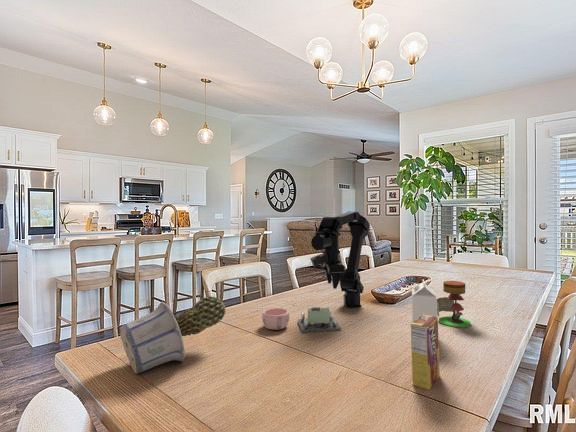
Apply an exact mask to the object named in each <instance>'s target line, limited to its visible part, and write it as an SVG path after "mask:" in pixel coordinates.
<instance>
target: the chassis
mask: <svg viewBox="0 0 576 432" xmlns="http://www.w3.org/2000/svg"><path fill="white" fill-rule="evenodd" d="M329 311H330V323H308V318H306V313H305V311H303V312H300V318H299V319H297V323H298V325H299V328H300V331H301V333H317V332H332V331H333V332H334V331H342V327H341V326H340V325H339V323H338V322H337V317H336V316H332V315H333V314H332V310H329Z"/></svg>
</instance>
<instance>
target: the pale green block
mask: <svg viewBox="0 0 576 432" xmlns="http://www.w3.org/2000/svg"><path fill="white" fill-rule="evenodd" d="M330 311H331V310H330V308H329V307H316V306H315V307H314V306H311V307H307V319H308V323H330Z"/></svg>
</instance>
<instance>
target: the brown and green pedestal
mask: <svg viewBox="0 0 576 432" xmlns="http://www.w3.org/2000/svg"><path fill="white" fill-rule="evenodd" d="M442 285H443V288H442V291H443V292H444V293H446V294H449V295H448V297H446V296H445V297H437V298H436V309H437V317H438V323H440V324H442V325H444V326H448V327H450V328H469V327H470V326H471V325H472V324H471V321H470V320H468V319H466V318H464V317H463V318H462V317H461V316H463V313H462V311H464V307H463V306H462V305H461V304H460V303H459V302H457V301H465V298H464V297H463V296H462V295H465V294H466V283H465V282H463V281H458V280H445V281H443V284H442ZM440 312H449V313H452V314H450V315H448V316H447V315H446V316H441V317H440Z"/></svg>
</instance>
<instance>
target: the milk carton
mask: <svg viewBox="0 0 576 432" xmlns="http://www.w3.org/2000/svg"><path fill="white" fill-rule="evenodd" d="M422 315H428V316H434V317H438V316H437V295H436V291H434V290H433V289H432V288H431V287H430V286H429V285H427V284H426V283H425V280H424V279H422V282H421V283H420V284H418V283H417V284H414V285H413V286H412V290H411V318H412V319H411V324H412V323H413V322H414V321H415V320H417V319H418V318H419V317H420V316H422Z"/></svg>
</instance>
